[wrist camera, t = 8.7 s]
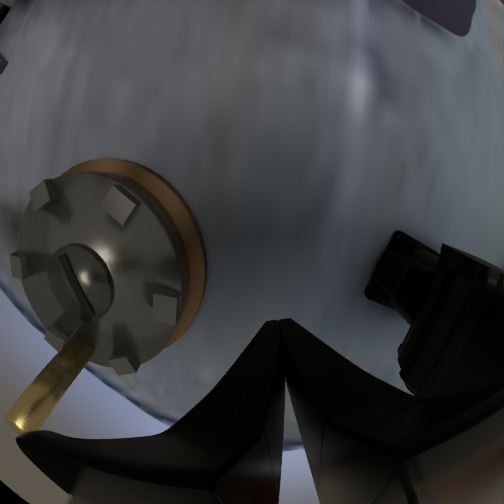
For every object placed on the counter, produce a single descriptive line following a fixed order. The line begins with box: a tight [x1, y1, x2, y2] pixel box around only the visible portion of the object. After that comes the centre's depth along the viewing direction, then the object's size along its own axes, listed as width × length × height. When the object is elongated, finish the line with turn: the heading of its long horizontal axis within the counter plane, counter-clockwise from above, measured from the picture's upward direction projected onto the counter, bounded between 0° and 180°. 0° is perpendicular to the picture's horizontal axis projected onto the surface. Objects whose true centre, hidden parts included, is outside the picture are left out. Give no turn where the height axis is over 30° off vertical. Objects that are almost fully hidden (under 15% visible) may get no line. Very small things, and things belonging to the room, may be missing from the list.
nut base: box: [61, 159, 207, 348], centre depth 21 cm, size 18×18×2 cm
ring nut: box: [4, 172, 190, 435], centre depth 14 cm, size 16×16×14 cm
